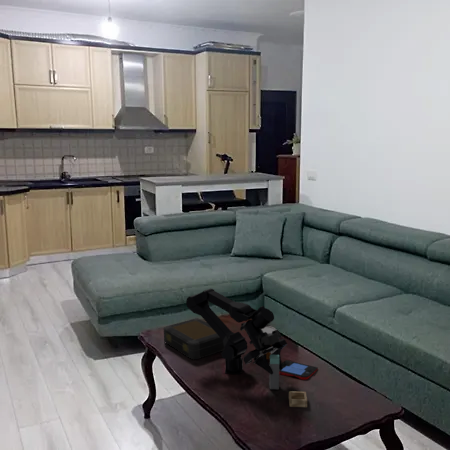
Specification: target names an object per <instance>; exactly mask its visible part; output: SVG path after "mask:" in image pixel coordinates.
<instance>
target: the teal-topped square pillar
mask: <svg viewBox="0 0 450 450" xmlns="http://www.w3.org/2000/svg"><path fill="white" fill-rule="evenodd" d="M269 365H270V367H271V369H272V371H273V374H272V375H271V374H270V373H269V390H280V375H279V355H270V359H269Z"/></svg>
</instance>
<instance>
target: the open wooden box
mask: <svg viewBox="0 0 450 450" xmlns="http://www.w3.org/2000/svg"><path fill="white" fill-rule="evenodd" d="M288 404H289V408H308V397H307V391H295V390H294V391H293V390H292V391H291V390H290V391H288Z"/></svg>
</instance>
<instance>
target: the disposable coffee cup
mask: <svg viewBox="0 0 450 450" xmlns="http://www.w3.org/2000/svg"><path fill="white" fill-rule="evenodd" d="M275 330H277V329H276V328H275V327H273V326H271V325H270V326H269V325H267V326H266V327H265V328H264V329H262V331H263V332H266V333H267V334H268V335H270V334H272V331H275ZM263 355H264V354H263ZM270 355H271V353H270V352H268V353H266V359H267V360H270Z"/></svg>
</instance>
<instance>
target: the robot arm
mask: <svg viewBox="0 0 450 450" xmlns="http://www.w3.org/2000/svg"><path fill="white" fill-rule="evenodd" d="M210 304H213V305H215V306H217V308H219V309H221V310H223V311H225V312H227V313H228V315H229V316H230V317H231V318H232V319H233V321H235V322H237V323H239V324H240V327H239V328H240V329H239V330H240V331H245V333H246V334H247V336H248V338H249V340H250V341H249V344H250V345H253V347H254V349H253V350H250V351H249V352H247V353H246V354H245V352H246V351H247V350H248V342H247V340H246V337H244V336H243V335H242V334H241V332H240V331H236V332H233V331H232V330H231V329H230V328H229V327H228V326H227V325H226V323H224V322H223V320H222V319H220V317H219V316H218V315H217V314H216V313H215V312H214V311H213V310H212V309H211V307H210ZM185 305H186V307H187V309H189V311H191V312H192V313H194V314H196V315H198V316H200V317H201V318H202V319H203V321H205V322H207V323H208V324H209V325H210V327H211V328H212V329H213V330H214V331H215V332H216V333H217V334H218V336H219V337H220V338H221V339H222V340H223V344H224V348H225V350H223V351H220V355H221V358H222V359H225V360H224V361H225V362H224V363H225V368H224V369H225V370H224V374H227V375H228V374H232V375H233V374H235V375H241V374H242V371H243V370H244V364H245V365H248V364H251V363H252V364H255V365H257V367H258V366H259V368H262V369H263V370H264V371H265V372H266V373H269V375H270V374H271V375H272V374H273V371H272V369H271V367H270V362H269V361H268V359H266V353H268V352H270V353H271V355H279V369H280V370H282V369H283V367H282V363H283V362H282V358H281V352H282V350H283V349H284V348H285V347H286V346H288V342H287V341H286V339H284V338H282V335H281V332H280V330H279V329H276V330H275V331H272V334H270V335H268V334H267V333H266V332H263V331H262V329H264V328H265V327H266V326H269V325H270V324H271V323H272V322H273V321H274V320H275V314H274V313H273V311H271V310H270V309H269V308H265V306H264V305H262V306H260V307H258V309H255V308H253V307H252V306H251V305H249V304H247V303H245V302H240V301H239V302H238V301H234V300H233V299H230V298H228V297H226V296H225V295H224V294H223V295H222V294H221V293H219V292H217V291H216V290H215V289H213V288H207V289H205V290H203V291H202V292H199V293H195V294H193V295H190V296H188V297H187V298H186V301H185ZM263 354H264V355H263ZM243 355H244V356H243ZM242 356H243V358H242ZM252 361H253V362H252Z"/></svg>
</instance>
